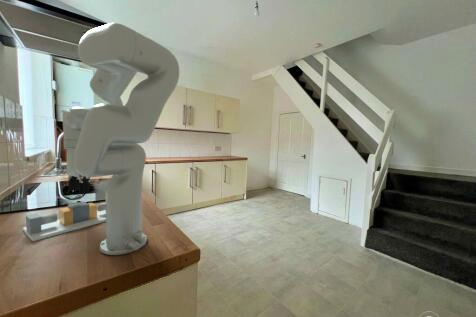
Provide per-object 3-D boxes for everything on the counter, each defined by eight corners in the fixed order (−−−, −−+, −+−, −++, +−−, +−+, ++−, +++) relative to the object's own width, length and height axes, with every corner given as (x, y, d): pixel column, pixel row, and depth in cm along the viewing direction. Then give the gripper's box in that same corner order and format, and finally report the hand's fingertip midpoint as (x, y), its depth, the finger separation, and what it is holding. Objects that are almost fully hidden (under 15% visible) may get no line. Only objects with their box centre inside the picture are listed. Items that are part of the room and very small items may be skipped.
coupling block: (97, 217, 78) (96, 202, 77) (64, 226, 69) (63, 209, 69) (91, 214, 81) (91, 200, 80) (59, 222, 72) (58, 206, 72)
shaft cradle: (124, 216, 83) (124, 202, 83) (32, 241, 61) (31, 222, 60) (110, 209, 90) (110, 196, 89) (23, 230, 67) (22, 212, 67)
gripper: (99, 145, 71) (101, 193, 72) (80, 145, 81) (82, 187, 82) (73, 145, 65) (75, 197, 66) (56, 144, 74) (58, 190, 75)
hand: (79, 191), depth 74 cm, fingers open, 9 cm apart
